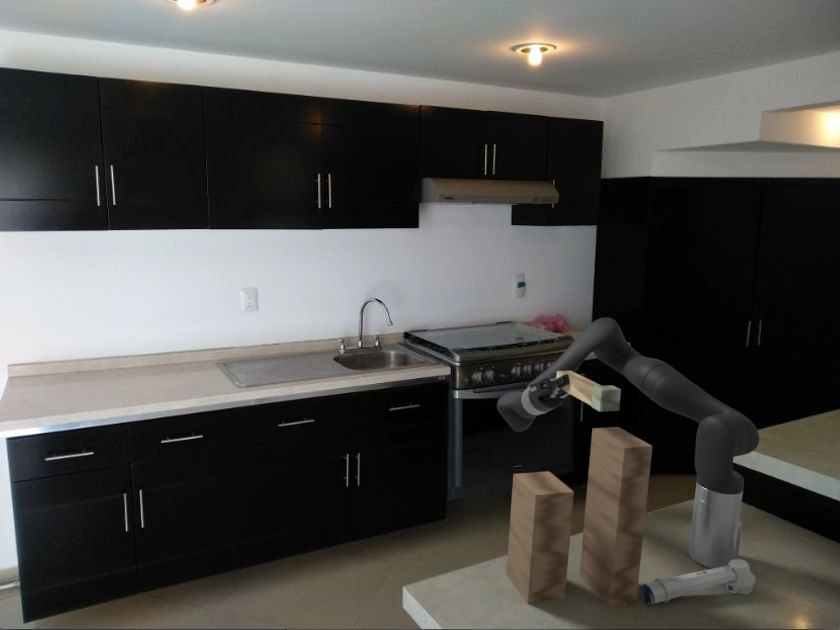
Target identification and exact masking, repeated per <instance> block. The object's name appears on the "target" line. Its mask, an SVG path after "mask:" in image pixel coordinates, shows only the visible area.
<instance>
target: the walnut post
mask: <svg viewBox="0 0 840 630" xmlns="http://www.w3.org/2000/svg"><path fill="white" fill-rule="evenodd" d="M590 444H591V445H590V450H589V455H590V456H589V462H588V463H589V465H588V473H587V474H588V475H587V476H588V477H587V486H586V488H587V489H586V499H585V510H584V519H583V520H584V521H583V522H584V523H583V532H582V542H581V554H580V565H579V566H580V567H579V575H578V576H579V577H580V578H581V579H582V580H583V582H585V584H587V586H588V587H589V588H590V589H591V590H592V591H593V592H594V593H595V594H596V595H597V596H598V598H600V600H601V601H602V602H604V603H605V605H606V606H607V607H608V608H613V607H620V606H621V605H622V606H625V605H624V604H629V605H632V604H631V603H635V604H637V599H638V598H637V597H638V590H639V581H640V580H639V579H640V569H641V560H642V549H643V543H644V542H643V539H644V531H645V520H646V513H647V512H646V511H647V510H646V509H647V504H648V503H647V502H648V492H649V482H650V472H651V466H652V465H651V464H652V463H651V462H652V455H653V454H652V453H653V445H651V444H649V443H648V442H646V441H645V440H642V439H641V438H639V437H637V436H635V435H633V434H632V433H630V432H628V431H627V430H624V428H621V427H619V426H614V427H612V426H611V427H597V428H596V427H595V428H594V427H592V431H591V441H590ZM622 606H621V607H622Z"/></svg>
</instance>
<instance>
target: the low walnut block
mask: <svg viewBox="0 0 840 630" xmlns="http://www.w3.org/2000/svg"><path fill="white" fill-rule="evenodd" d="M574 494H575V491H574V490H573V489H571V488H570V487H569V486H568V485H567V484H565V482H563V481H561V480H560V479H559V478H558V477H557V476H555V475H554V474H553V473H552V472H550V471H548V470H547V471H537V472H523V473H513V477H512V489H511V502H510V503H511V505H510V518H509V519H510V520H509V534H508V544H507V545H508V548H507V558H506V559H507V560H506V574H505V575H506V576H507V578H508V579H509V581H510V582H511V583H512V585H513V586H514V587H515V589H516V590H517V591H518V592H519V594H520V596H521V597H522V598H523V599H524V601H525V602H526V604H533V603H541V602H547V601H548V602H549V601H554V600H555V601H556V600H562V599H566V588H567V577H568V576H567V575H568V566H569V565H568V564H569V557H570V556H569V554H570V542H571V533H572V532H571V531H572V530H571V529H572V520H573V519H572V518H573V509H574V508H573V507H574V506H573V505H574V496H575V495H574Z"/></svg>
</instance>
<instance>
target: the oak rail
mask: <svg viewBox="0 0 840 630" xmlns="http://www.w3.org/2000/svg"><path fill="white" fill-rule="evenodd" d="M564 374H568V375H569V382H570V383H569V384H568V385H566V386H564V387H562V388H560V389H562V390H564V391H566V392H567V393H569V395H571V396H573V397H574V398H576V399H578V400H580V401H582V402H584V403H586V404H587V405H589V406H591V408H592V409H594V410H596V411H598V412H600V413H601V412H602V413H603V412H618V411H620V404H621V403H620V402H621V401H620V400H621V394H622V393H621V392H622V389H621V388H618V387H616V386H615V385H601V384H598V383H597V382H595V381H593V380H591V379H589V378H587V377H586V378H585V377H582V376H580V374H578V373H576V372H575V373H574V372H572V371H557V377H556V378H559V377H561V376H563V375H564Z"/></svg>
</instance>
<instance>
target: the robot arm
mask: <svg viewBox="0 0 840 630" xmlns="http://www.w3.org/2000/svg"><path fill="white" fill-rule="evenodd" d="M590 354H593V355H594V357H596V358H597V359H598V360H599V361H600V362H602V363H604V364H605V365H607V366H609V367H611V368H612V369H613V370H614V371H616V372H618V373H619V374H621V375H622V376H623V377H625V378H626V379H627V380H628V381H629V382H630V383H631V384H632V385H634V386H635V388H637V389H638V390H640V391H641V392H642V393H643V394H644V395H645V397H648V398H649V399H650V400H651V401H653V402H654V403H655V404H657V405H659V406H660V407H662V408H664V409H666V410H668V411H670V412H672V413H676V414H678V415H681V416H684V417H686V418H689V419H691V420H693V421H695V422H697V423H698V427H697V429H696V430H697V431H696V440H695V451H694V452H695V453H694V467H695V472H696V475H697V476H696V484H695V485H696V486H695V487H696V488H695V493H694V501H693V509H692V510H693V511H692V518H691V519H692V520H691V527H690V528H691V529H690V536H689V538H690V539H689V545H688V546H689V547H688V553H689V554H688V556H689V557H690V559H691V560H692V561H694V562H695V561H696V562H695V563H697V562H698V563H697V564H699V565H701V566H703V565H704V567H707V568H709V569H713V568H718V567H723V566H728V564H729V562H730V561H731V560H733V559H739V552H740V546H741V540H742V539H741V538H742V537H741V536H742V529H743V523H742V521H740V516H741V510H742V509H741V507H742V500H743V494H744V488H745V487H744V485H745V479H744V477H743V475H741V474H740V473H739V472H737V471H735V470H734V458H735V457H741V456H745V455H748V454H751V453H752V452H754V451H755V450H756V449H757V448H758V446H759V444H760V434H759V431H758V428H757V427H756V425H755V424H754V423H753V421H752V420H751V419H749V418H748V417H747V416H746V415H744V414H742V413H741V412H740V411H738V410H736V409H734V408H733V407H731V406H729V405H727V404H725V403H724V402H722V401H720V400H718V399H717V398H715V397H714V396H712V395H711V394H709V393H707V391H705V390H704V389H702V388H701V387H699V386H698V385H697V384H695V383H693V381H691V380H690V379H688V378H687V377H685V376H684V375H683V374H682V373H681V372H679V371H678V370H676V369H675V368H674V367H673V366H671V365H670V364H668V363H666V362H665V361H663V360H660V359H657V358H653V357H646V356H644V355H642V354H641V353H639V352H638V351H637V350H636V349H634V348H633V346H631V344H629V343H628V341H627V340H626V337H625V335H624V334H623V331H622V329H621V327H620V325H619V324H618V322H617V321H616V320H615V319H613V318H612V317H601V318H598V319H596V320H594V321H592V323H590V324H589V325H588V326H587V327H586V328H585V329H584V330H583V331H582V332H581V334H579V336H577V338H576V339H575V340H574V341H573V342H571V344H570V345H569V347H568V348H566V349H565V351H564V352H563V353H562V354H561V356H559V358H557V359H556V360H555V362H554V363H552V364H551V365H550V366H548V368H547V369H545V370H544V371H543V372H541V373H540V374H539V375H538V376H536V378H534V379H533V380H531V381H530V382H529V383H528V384H527V386H526V389H524V390H523V391H509V392H508V393H505V394H503V395H502V396H501V397H500V398H499V399H498V401H497V403H496V408H497V411H498V413H499V414H500V415H501V416H502V418H503V419H504V420H505V421H506V423H507V424H508V425H509V427H510V428H511V429H512V430H513V431H514V432H517V433H519V432H520V433H521V432H524V431H525V430H528V429H529V428H530V426H531V425H532V424H533V422H534V421H535V419H536V418H537V417H538V416H539V415H543V414H546V413H548V412H550V411H552V410H554V409H556V408H559V407H560V406H561V405H562V404H563V402H564V399H565V398H567V396H569V395H570V394H569V393H567V392H566V391H564V390H562V389H560V388H562V387H564V386H566V385H568V384H569V383H570V382H569V375H568V374H564V375H563V376H561V377H559V378H556V377H557V371H572V372H574V373H576V372H577V371H578V370H579V367H580V366H581V364H582V363H583V362H584V360H586V358H588V356H590ZM579 375H580V376H582V377H585V378H587V375H585V373H580V374H579Z"/></svg>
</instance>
